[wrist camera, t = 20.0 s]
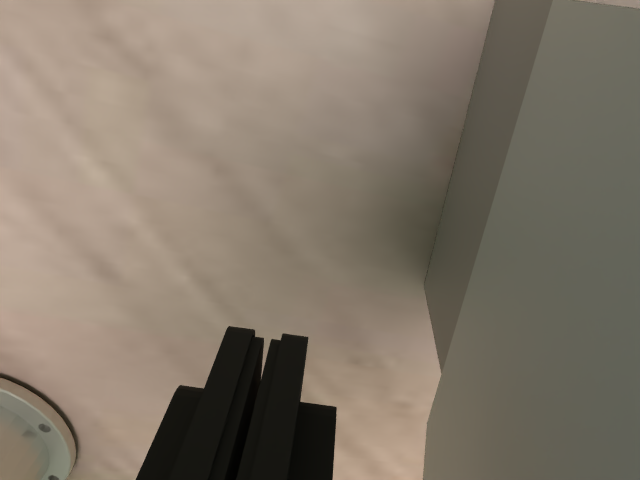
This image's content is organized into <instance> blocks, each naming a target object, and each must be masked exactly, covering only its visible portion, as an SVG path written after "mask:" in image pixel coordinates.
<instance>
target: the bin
mask: <svg viewBox="0 0 640 480" xmlns="http://www.w3.org/2000/svg"><path fill="white" fill-rule="evenodd" d="M552 1H553V0H495V4H494V8H493V12H492V16H491V20H490V24H489V28H488V32H487V36H486V40H485V44H484V48H483V52H482V56H481V60H480V64H479V68H478V72H477V76H476V80H475V84H474V88H473V92H472V96H471V100H470V104H469V108H468V112H467V116H466V120H465V124H464V128H463V132H462V136H461V140H460V144H459V148H458V151H457V155H456V159H455V163H454V167H453V171H452V175H451V179H450V183H449V187H448V191H447V195H446V199H445V203H444V207H443V211H442V215H441V219H440V223H439V227H438V231H437V235H436V239H435V243H434V247H433V251H432V255H431V259H430V263H429V267H428V271H427V275H426V279H425V283H424V289H425V294H426V299H427V304H428V309H429V314H430V319H431V324H432V329H433V334H434V339H435V344H436V349H437V354H438V359H439V364H440V369H441V374H442V371H443V368H444V365H445V361H446V358H447V354H448V351H449V348H450V344H451V341H452V338H453V334H454V331H455V328H456V324H457V321H458V317H459V314H460V311H461V307H462V304H463V301H464V297H465V294H466V291H467V287H468V284H469V280H470V277H471V274H472V270H473V267H474V264H475V260H476V257H477V254H478V250H479V247H480V243H481V240H482V237H483V233H484V230H485V227H486V223H487V220H488V217H489V213H490V210H491V207H492V203H493V200H494V196H495V193H496V190H497V186H498V183H499V180H500V176H501V173H502V170H503V166H504V163H505V159H506V156H507V153H508V149H509V146H510V143H511V139H512V136H513V133H514V129H515V126H516V122H517V119H518V116H519V112H520V109H521V106H522V102H523V99H524V96H525V92H526V89H527V85H528V82H529V79H530V75H531V72H532V69H533V65H534V62H535V59H536V55H537V52H538V48H539V45H540V42H541V38H542V35H543V32H544V28H545V25H546V22H547V18H548V15H549V11H550V8H551V5H552Z"/></svg>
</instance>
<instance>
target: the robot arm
mask: <svg viewBox="0 0 640 480" xmlns="http://www.w3.org/2000/svg"><path fill="white" fill-rule="evenodd" d="M307 344H308V337H304V336H297V335H290V334H282V338H281V340H274V339H271V342H270V346H269V350H268V354H267V358H266V362H265V366H264V370H263V374H262V378H261V372H262V359H263V346H264V338H259V337H255V330H253V329H246V328H238V327H231V326H229V327H228V328H227V330H226V332H225V335H224V338H223V340H222V343H221V346H220V348H219V351H218V353H217V356H216V359H215V361H214V364H213V366H212V369H211V372H210V374H209V377H208V380H207V382H206V385H205V387H204V389H203V388H196V387H189V386H182V385H180V386H179V387H178V388H177V390H176V391H175V393H174V395H173V397H172V400H171V402H170V404H169V406H168V409H167V411H166V413H165V415H164V418H163V420H162V422H161V424H160V427H159V429H158V431H157V433H156V435H155V438H154V440H153V442H152V444H151V447H150V449H149V451H148V453H147V456H146V458H145V460H144V462H143V465H142V467H141V469H140V471H139V473H138V476H137V478H136V480H332V478H333V461H334V445H335V429H336V407H333V406H326V405H319V404H311V403H304V402H300V399H301V391H302V383H303V375H304V367H305V360H306V352H307ZM75 458H76V448H75V442H74V439H73V437H72V434H71V432H70V430H69V428H68V427H67V425H66V423H65V422H64V420H63V419H62V418H61V416H60V415H59V414H58V413H57V412H56V411H55V410H54V409H53V408H52V407H51V406H50V405H49V404H48V403H46V402H45V401H44V400H43V399H41V398H40V397H39V396H37V395H36V394H34V393H32V392H31V391H29V390H28V389H26V388H24V387H22V386H20V385H18V384H15V383H13V382H11V381H9V380H6V379H3V378H0V480H66V479H67V477H68V475H69V474H70V472H71V470H72V468H73V466H74V464H75Z"/></svg>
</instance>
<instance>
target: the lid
mask: <svg viewBox="0 0 640 480" xmlns="http://www.w3.org/2000/svg"><path fill="white" fill-rule="evenodd" d="M423 480H640V9H637V8H629V7H621V6H613V5H606V4H598V3H590V2H582V1H574V0H553V1H552V5H551V8H550V11H549V15H548V18H547V22H546V25H545V28H544V32H543V35H542V38H541V42H540V45H539V48H538V52H537V55H536V59H535V62H534V65H533V69H532V72H531V75H530V79H529V82H528V85H527V89H526V92H525V96H524V99H523V102H522V106H521V109H520V112H519V116H518V119H517V122H516V126H515V129H514V133H513V136H512V139H511V143H510V146H509V149H508V153H507V156H506V159H505V163H504V166H503V170H502V173H501V176H500V180H499V183H498V186H497V190H496V193H495V196H494V200H493V203H492V207H491V210H490V213H489V217H488V220H487V223H486V227H485V230H484V233H483V237H482V240H481V243H480V247H479V250H478V254H477V257H476V260H475V264H474V267H473V270H472V274H471V277H470V280H469V284H468V287H467V291H466V294H465V297H464V301H463V304H462V307H461V311H460V314H459V317H458V321H457V324H456V328H455V331H454V334H453V338H452V341H451V344H450V348H449V351H448V354H447V358H446V361H445V365H444V368H443V371H442V375H441V378H440V381H439V385H438V388H437V391H436V395H435V398H434V402H433V405H432V408H431V412H430V415H429V418H428V422H427V432H426V445H425V459H424V472H423Z"/></svg>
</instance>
